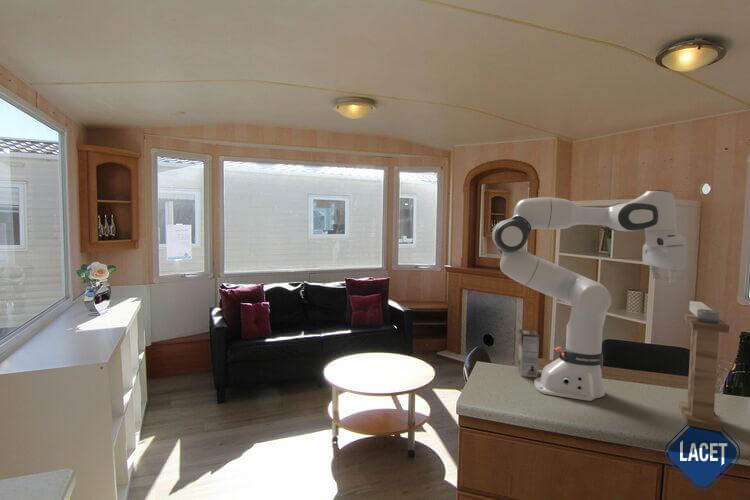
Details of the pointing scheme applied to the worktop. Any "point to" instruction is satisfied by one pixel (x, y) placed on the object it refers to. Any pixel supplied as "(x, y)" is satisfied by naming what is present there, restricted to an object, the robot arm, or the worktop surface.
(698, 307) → the jaw bar
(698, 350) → the stand
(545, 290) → the robot arm
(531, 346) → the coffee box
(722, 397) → the worktop surface
